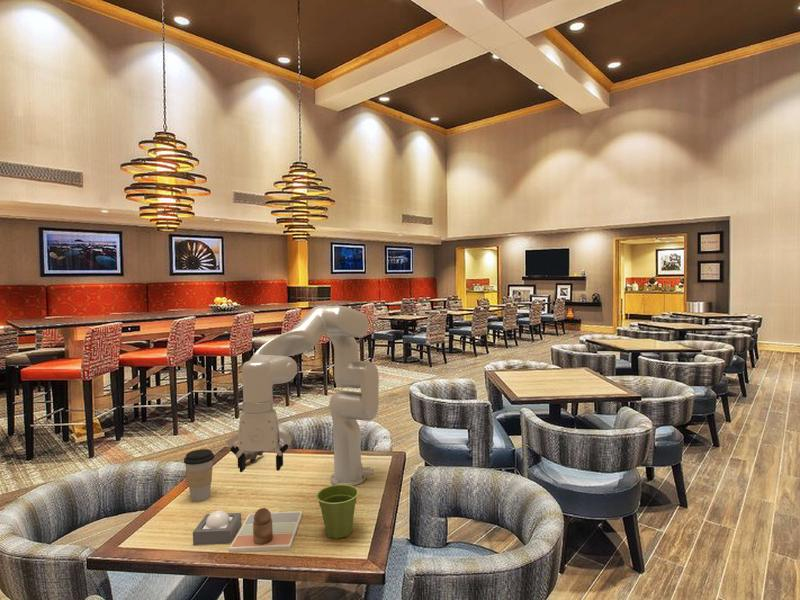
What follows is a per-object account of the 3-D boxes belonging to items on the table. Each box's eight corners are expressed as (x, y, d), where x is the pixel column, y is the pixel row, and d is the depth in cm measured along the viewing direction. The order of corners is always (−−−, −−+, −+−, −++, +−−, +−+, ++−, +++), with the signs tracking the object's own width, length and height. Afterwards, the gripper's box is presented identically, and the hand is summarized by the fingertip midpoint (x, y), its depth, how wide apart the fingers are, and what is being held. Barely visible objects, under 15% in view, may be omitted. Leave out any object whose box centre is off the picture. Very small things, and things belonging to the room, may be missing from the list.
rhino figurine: (268, 456, 193) (268, 442, 193) (244, 468, 181) (243, 453, 180) (261, 455, 195) (260, 441, 195) (236, 467, 182) (235, 452, 182)
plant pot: (321, 522, 138) (320, 484, 138) (362, 521, 138) (361, 483, 137) (313, 544, 126) (311, 503, 126) (357, 544, 126) (356, 502, 126)
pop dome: (233, 527, 136) (232, 505, 136) (226, 539, 130) (225, 516, 130) (210, 528, 136) (210, 506, 136) (202, 540, 130) (201, 517, 129)
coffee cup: (186, 507, 150) (184, 460, 149) (184, 495, 158) (182, 451, 158) (217, 500, 154) (215, 454, 154) (214, 489, 163) (212, 446, 162)
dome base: (241, 524, 138) (241, 512, 138) (230, 543, 128) (230, 530, 128) (206, 526, 138) (206, 514, 138) (193, 544, 128) (192, 532, 128)
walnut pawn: (274, 534, 130) (273, 504, 130) (270, 544, 125) (269, 513, 125) (256, 534, 130) (255, 505, 129) (251, 545, 125) (250, 514, 124)
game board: (302, 514, 143) (302, 510, 143) (290, 549, 124) (290, 545, 124) (249, 516, 143) (249, 513, 143) (228, 552, 124) (228, 548, 124)
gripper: (220, 411, 122) (223, 476, 123) (288, 409, 123) (290, 473, 124) (230, 404, 130) (232, 465, 130) (293, 401, 130) (295, 462, 131)
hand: (260, 469), depth 127 cm, fingers open, 9 cm apart
